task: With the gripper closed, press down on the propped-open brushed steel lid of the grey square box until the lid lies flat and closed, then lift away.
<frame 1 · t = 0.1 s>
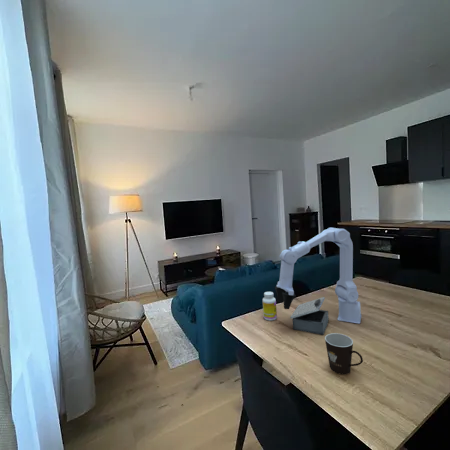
hand: (283, 305, 113), 11 cm above the table, tool pointing down, fingers open, 7 cm apart
coffee mug: (342, 371, 82), on the table
grey square box: (311, 325, 114), on the table
steel lid: (307, 306, 114), point 9 cm above the table, hinge at 25.0°
supplement bottle: (270, 318, 125), on the table
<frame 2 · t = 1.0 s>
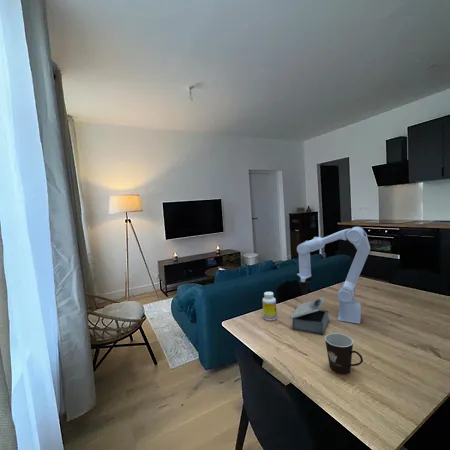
hand: (305, 291, 129), 10 cm above the table, tool pointing down, fingers open, 7 cm apart
nothing on the table moved.
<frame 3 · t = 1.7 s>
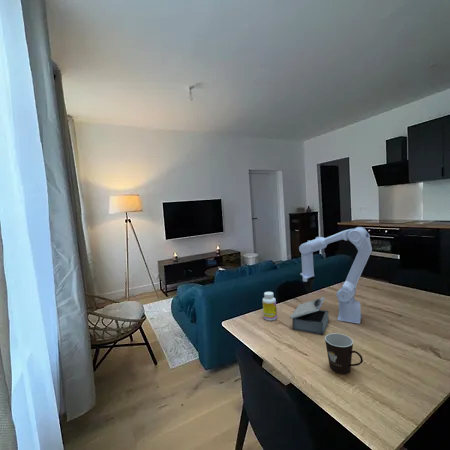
hand: (309, 291, 129), 10 cm above the table, tool pointing down, fingers closed
nothing on the table moved.
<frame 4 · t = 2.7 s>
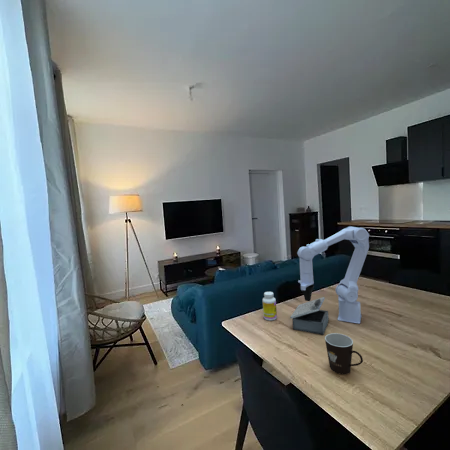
hand: (307, 300, 117), 10 cm above the table, tool pointing down, fingers closed
nothing on the table moved.
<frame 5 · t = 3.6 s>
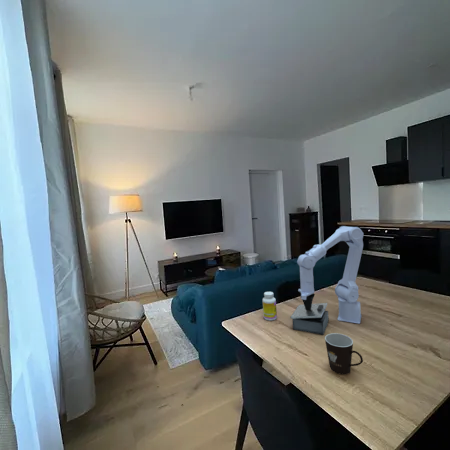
hand: (308, 309, 114), 7 cm above the table, tool pointing down, fingers closed, pressing on steel lid
steel lid: (308, 309, 114), point 7 cm above the table, hinge at 12.0°, touching gripper
everything else where it was.
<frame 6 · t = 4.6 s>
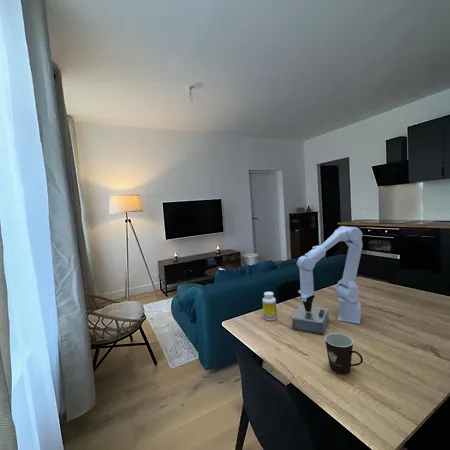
hand: (308, 311, 114), 7 cm above the table, tool pointing down, fingers closed
steel lid: (309, 312, 114), point 6 cm above the table, hinge at 1.1°
everything else where it was.
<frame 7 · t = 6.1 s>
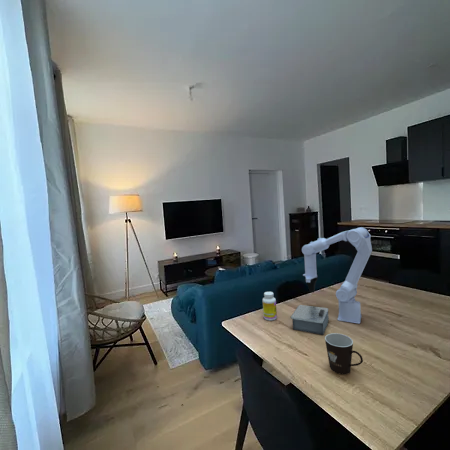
hand: (311, 291, 131), 9 cm above the table, tool pointing down, fingers closed
nothing on the table moved.
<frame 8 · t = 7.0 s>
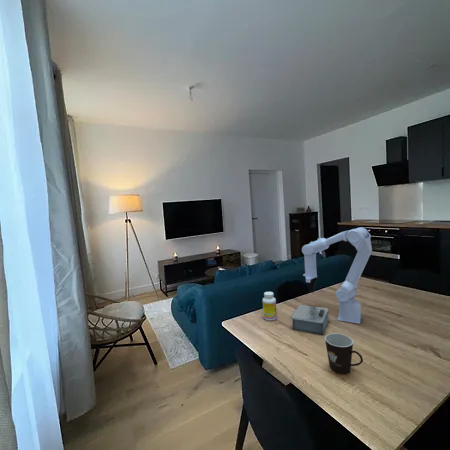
hand: (311, 291, 131), 9 cm above the table, tool pointing down, fingers closed
nothing on the table moved.
at the end: steel lid at +1° (first picture: +25°); the gripper is holding nothing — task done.
